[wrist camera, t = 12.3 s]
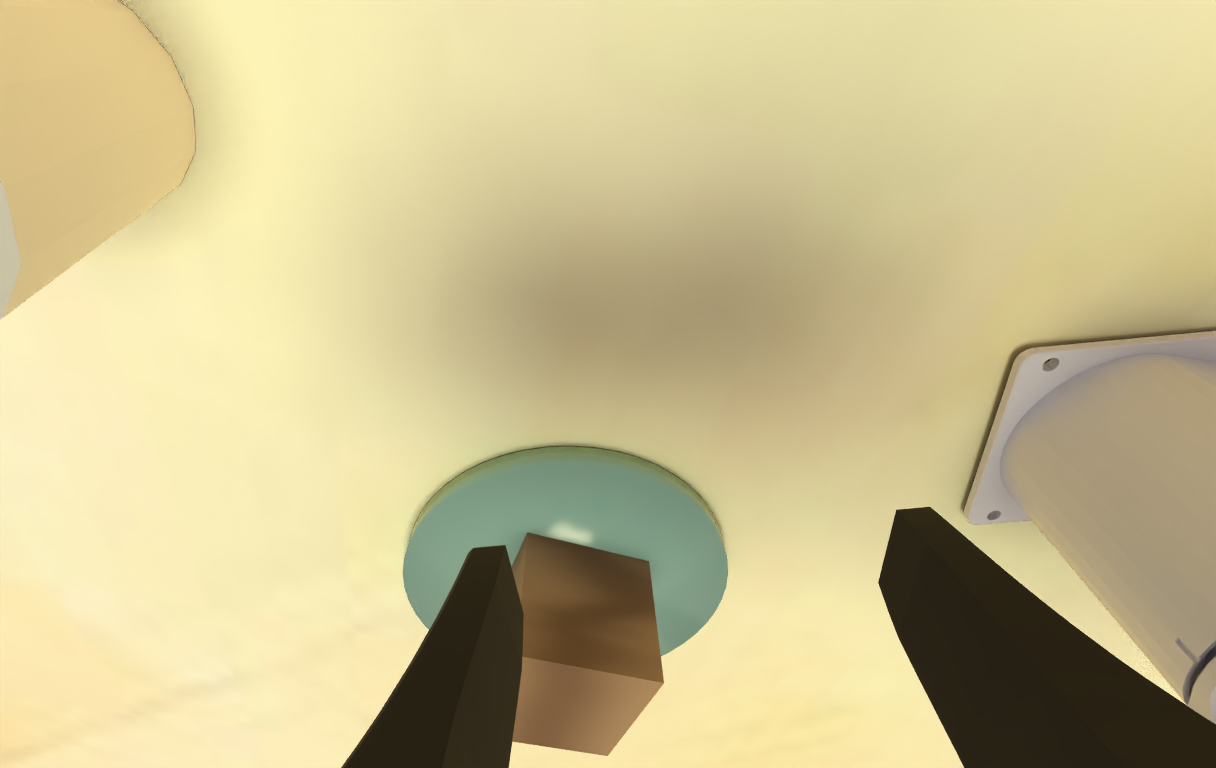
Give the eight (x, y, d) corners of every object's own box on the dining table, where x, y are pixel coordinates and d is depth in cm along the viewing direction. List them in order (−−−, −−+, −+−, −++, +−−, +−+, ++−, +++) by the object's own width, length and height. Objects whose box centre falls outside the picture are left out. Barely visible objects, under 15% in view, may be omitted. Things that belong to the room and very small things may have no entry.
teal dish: (726, 430, 22) (732, 448, 21) (720, 644, 29) (724, 664, 28) (367, 463, 22) (358, 482, 21) (450, 668, 29) (446, 688, 28)
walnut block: (649, 561, 24) (663, 682, 20) (602, 633, 26) (607, 755, 22) (527, 531, 23) (515, 655, 19) (491, 611, 25) (474, 735, 21)
